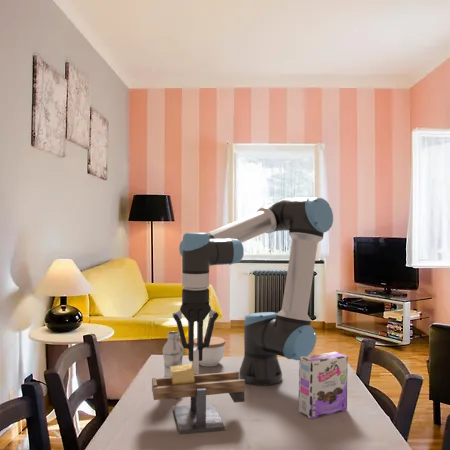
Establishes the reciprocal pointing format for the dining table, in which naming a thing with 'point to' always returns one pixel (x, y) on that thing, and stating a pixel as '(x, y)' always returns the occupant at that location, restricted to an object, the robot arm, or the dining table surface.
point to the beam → (201, 386)
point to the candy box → (322, 384)
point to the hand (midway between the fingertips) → (195, 372)
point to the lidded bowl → (212, 351)
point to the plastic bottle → (172, 352)
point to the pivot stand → (198, 416)
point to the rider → (182, 374)
